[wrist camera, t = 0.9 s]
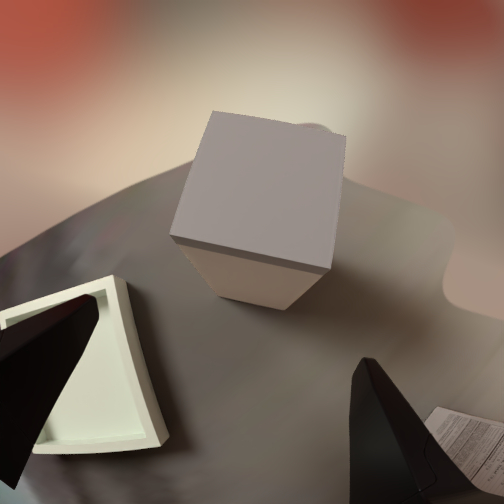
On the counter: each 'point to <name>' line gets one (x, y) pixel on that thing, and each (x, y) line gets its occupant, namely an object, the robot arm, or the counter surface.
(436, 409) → the coffee box
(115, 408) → the tray
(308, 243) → the tall square pillar
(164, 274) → the counter surface
